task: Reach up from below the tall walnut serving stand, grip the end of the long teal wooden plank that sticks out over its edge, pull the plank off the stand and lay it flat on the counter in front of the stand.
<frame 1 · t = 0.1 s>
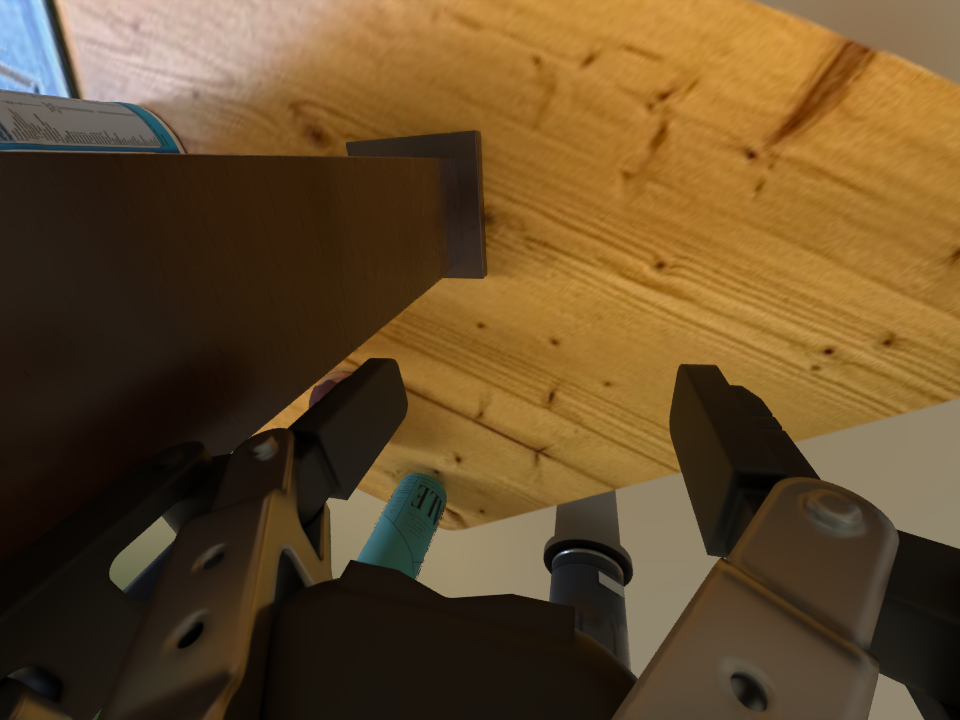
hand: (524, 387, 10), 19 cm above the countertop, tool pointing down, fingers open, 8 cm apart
stand: (447, 211, 27), on the countertop
beverage bottle 2: (159, 159, 32), on the countertop
beverage bottle: (429, 479, 44), on the countertop
donut: (361, 403, 40), on the countertop
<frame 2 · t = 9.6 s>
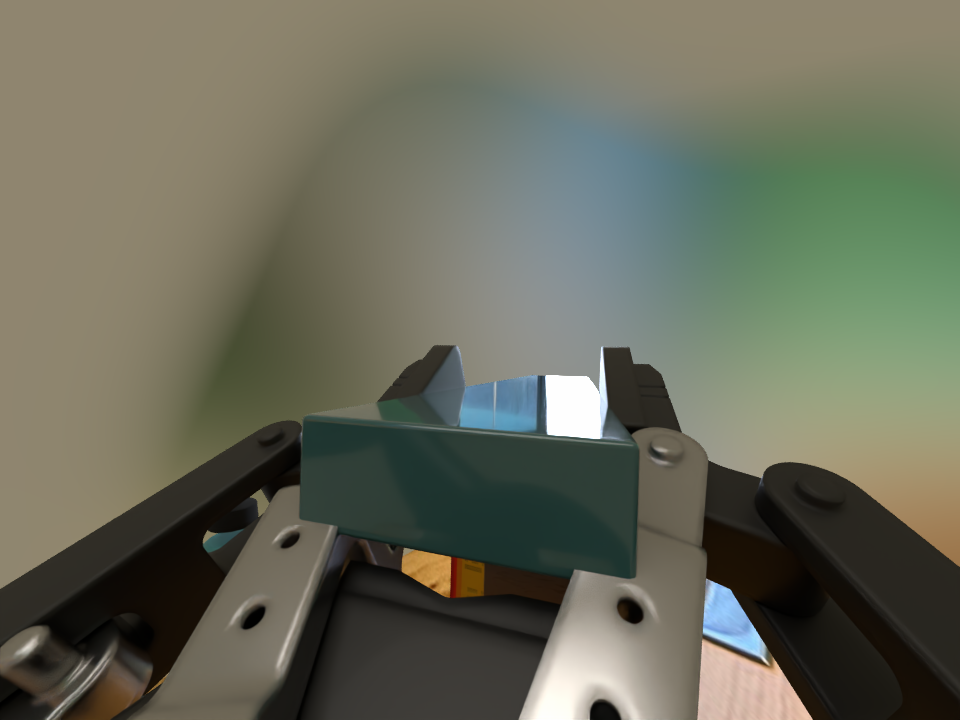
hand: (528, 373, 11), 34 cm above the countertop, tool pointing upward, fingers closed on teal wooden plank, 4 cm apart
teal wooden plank: (542, 418, 16), point 32 cm above the countertop, touching gripper, stand
beverage bottle: (227, 705, 35), on the countertop
baking soda box: (488, 632, 45), on the countertop
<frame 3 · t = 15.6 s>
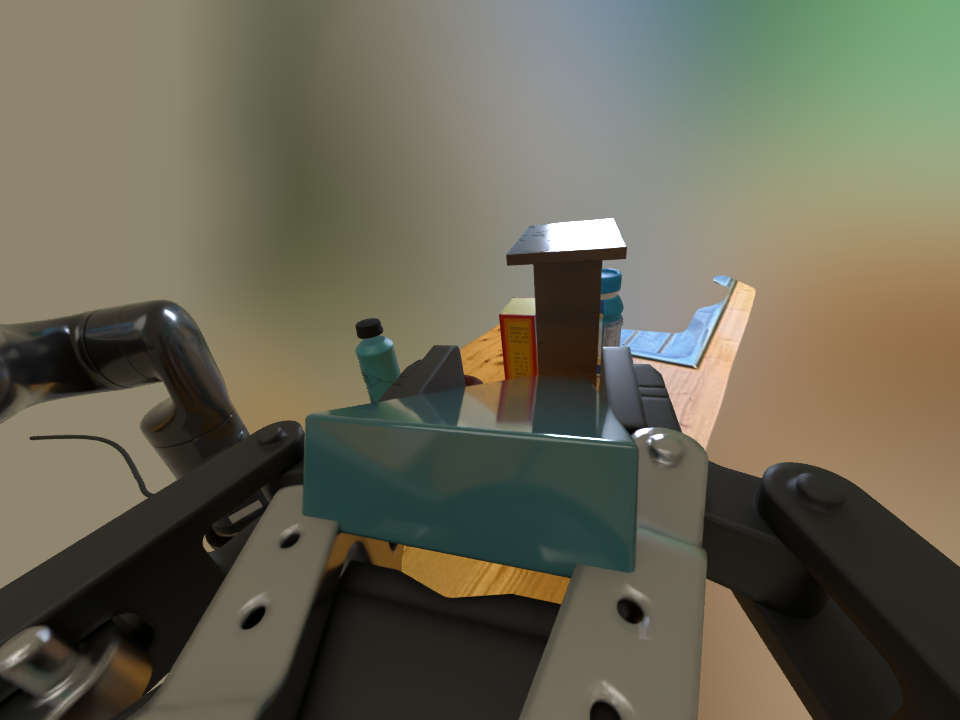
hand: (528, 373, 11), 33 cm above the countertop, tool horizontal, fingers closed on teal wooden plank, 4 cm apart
stand: (567, 459, 51), on the countertop
beverage bottle 2: (597, 368, 73), on the countertop
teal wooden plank: (542, 418, 16), point 29 cm above the countertop, tilted 30°, touching gripper
beverage bottle: (395, 420, 65), on the countertop
donut: (462, 402, 68), on the countertop
baking soda box: (527, 376, 73), on the countertop
when the fingers open (10 cm above the countertop, at t = 20.1 s): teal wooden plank drops 6 cm, on the countertop.
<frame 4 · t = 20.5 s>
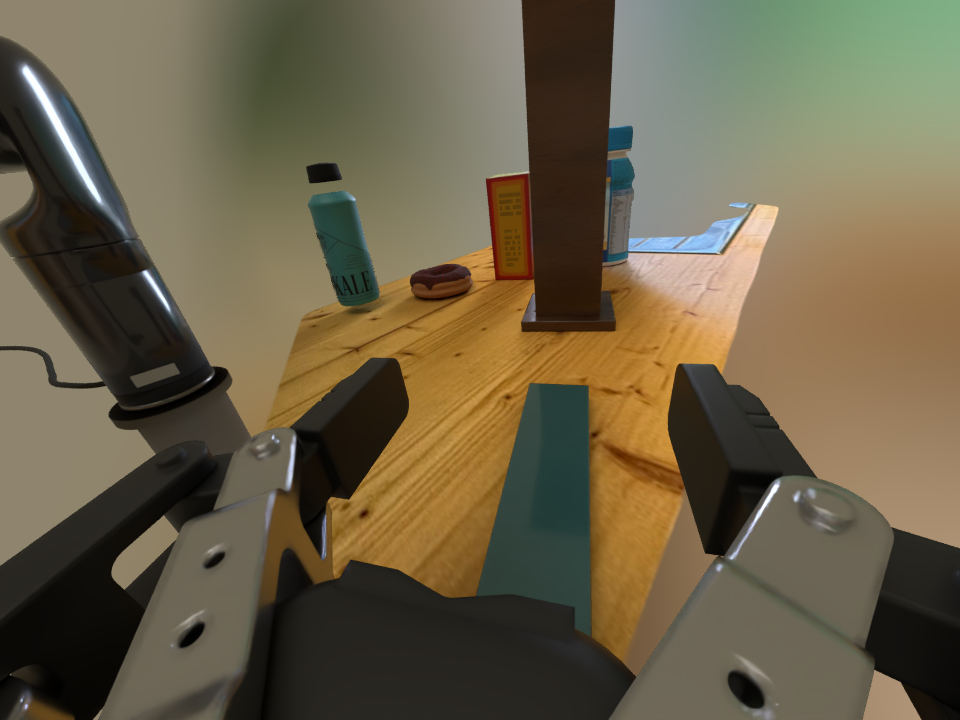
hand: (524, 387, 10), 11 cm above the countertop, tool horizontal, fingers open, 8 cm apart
stand: (567, 320, 41), on the countertop
beverage bottle 2: (603, 262, 62), on the countertop
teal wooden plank: (542, 542, 17), on the countertop
beverage bottle: (363, 309, 55), on the countertop
donut: (443, 293, 57), on the countertop
baking soda box: (521, 273, 63), on the countertop
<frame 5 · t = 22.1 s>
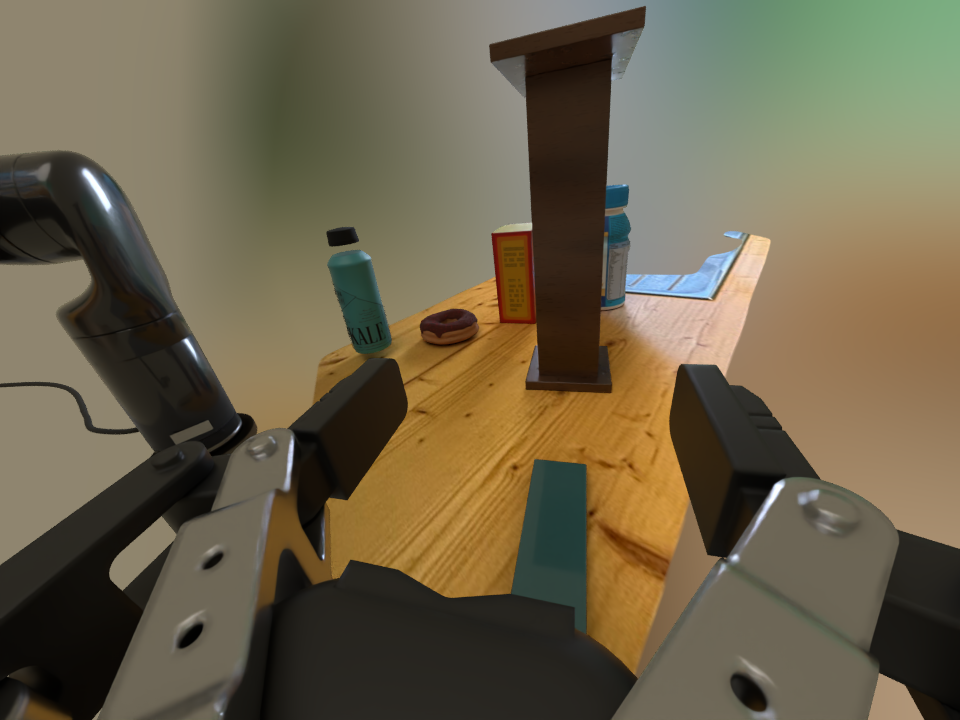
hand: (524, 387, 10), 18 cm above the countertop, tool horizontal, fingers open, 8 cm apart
stand: (568, 378, 44), on the countertop
beverage bottle 2: (601, 304, 66), on the countertop
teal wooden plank: (547, 627, 21), on the countertop
beverage bottle: (376, 354, 58), on the countertop
donut: (451, 337, 61), on the countertop
baking soda box: (523, 314, 66), on the countertop
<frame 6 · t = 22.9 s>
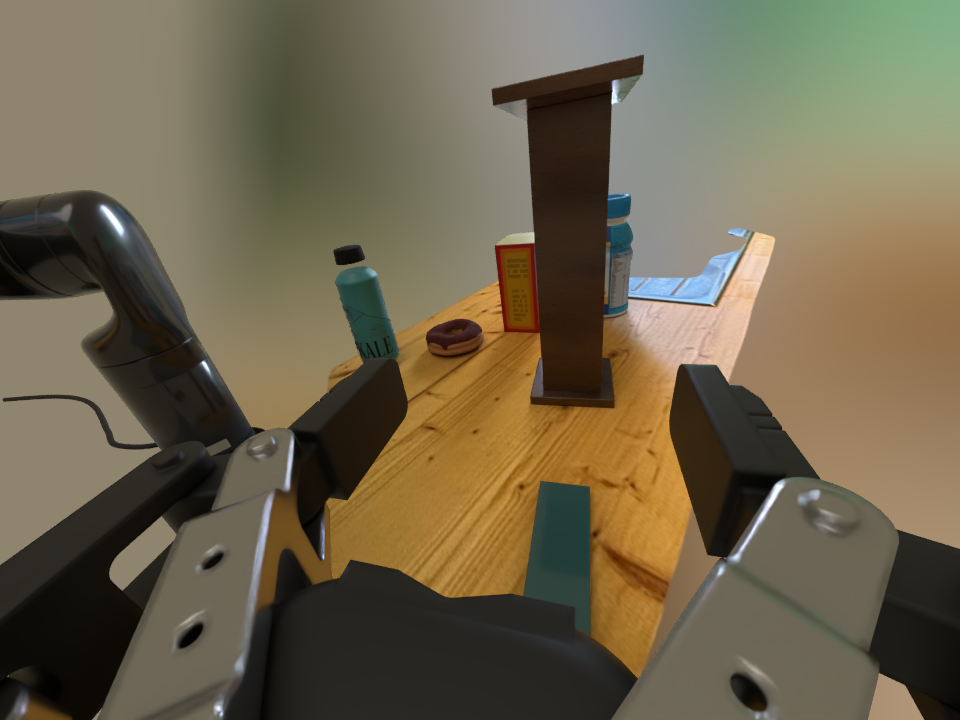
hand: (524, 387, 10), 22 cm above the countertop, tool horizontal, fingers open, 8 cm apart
stand: (571, 392, 45), on the countertop
beverage bottle 2: (604, 311, 67), on the countertop
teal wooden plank: (554, 649, 22), on the countertop
beverage bottle: (384, 366, 60), on the countertop
donut: (456, 347, 62), on the countertop
baking soda box: (527, 322, 67), on the countertop
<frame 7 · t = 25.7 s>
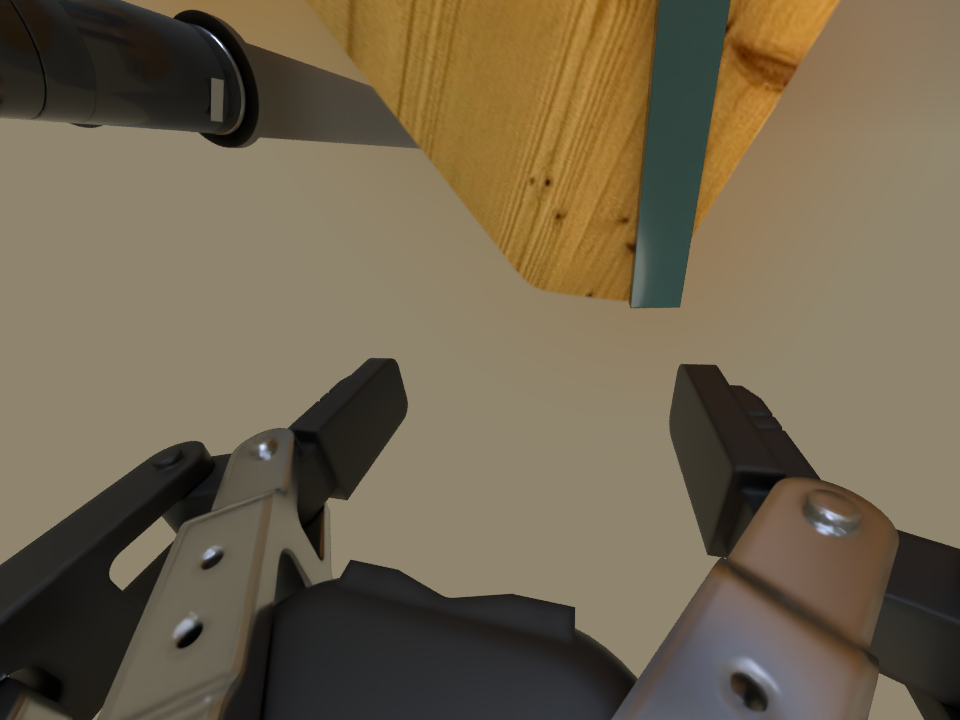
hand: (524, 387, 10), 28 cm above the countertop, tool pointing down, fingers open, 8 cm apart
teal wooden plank: (668, 168, 29), on the countertop
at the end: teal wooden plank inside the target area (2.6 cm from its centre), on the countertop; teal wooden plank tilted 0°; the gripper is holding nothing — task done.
